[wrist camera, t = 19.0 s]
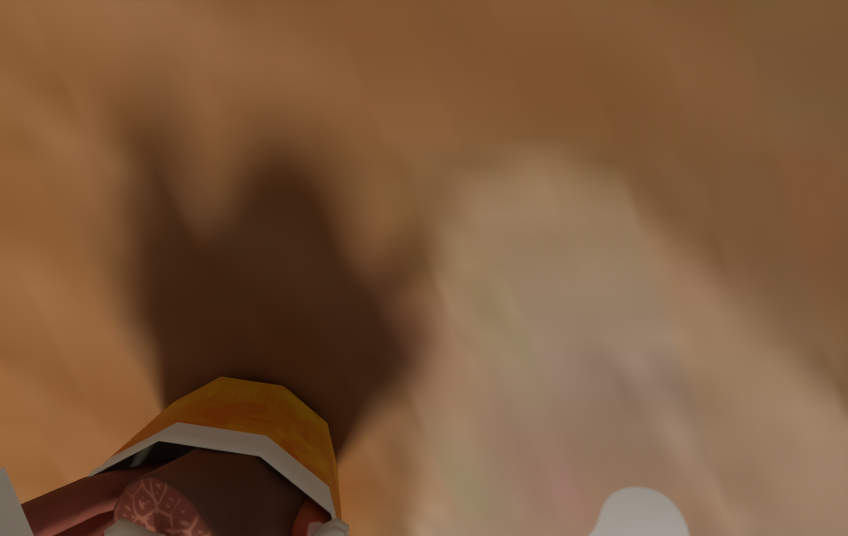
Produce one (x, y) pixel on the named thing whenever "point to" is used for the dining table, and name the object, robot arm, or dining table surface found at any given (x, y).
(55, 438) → the dining table surface
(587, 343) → the dining table surface
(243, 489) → the bucket of meat
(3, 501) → the robot arm
